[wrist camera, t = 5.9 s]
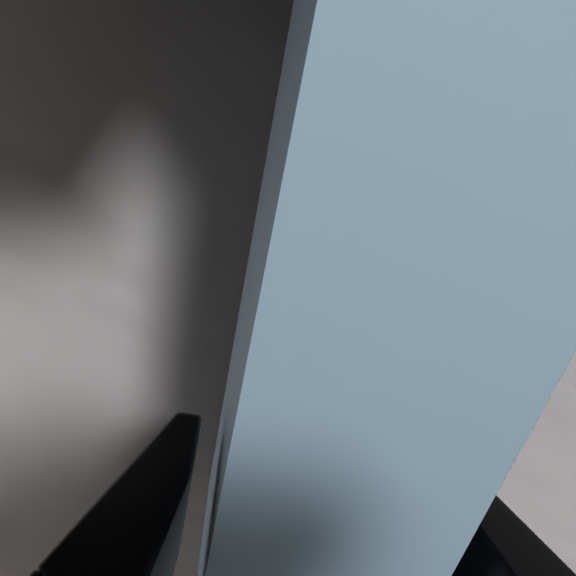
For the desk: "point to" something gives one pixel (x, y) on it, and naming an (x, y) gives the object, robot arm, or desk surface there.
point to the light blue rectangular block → (398, 286)
